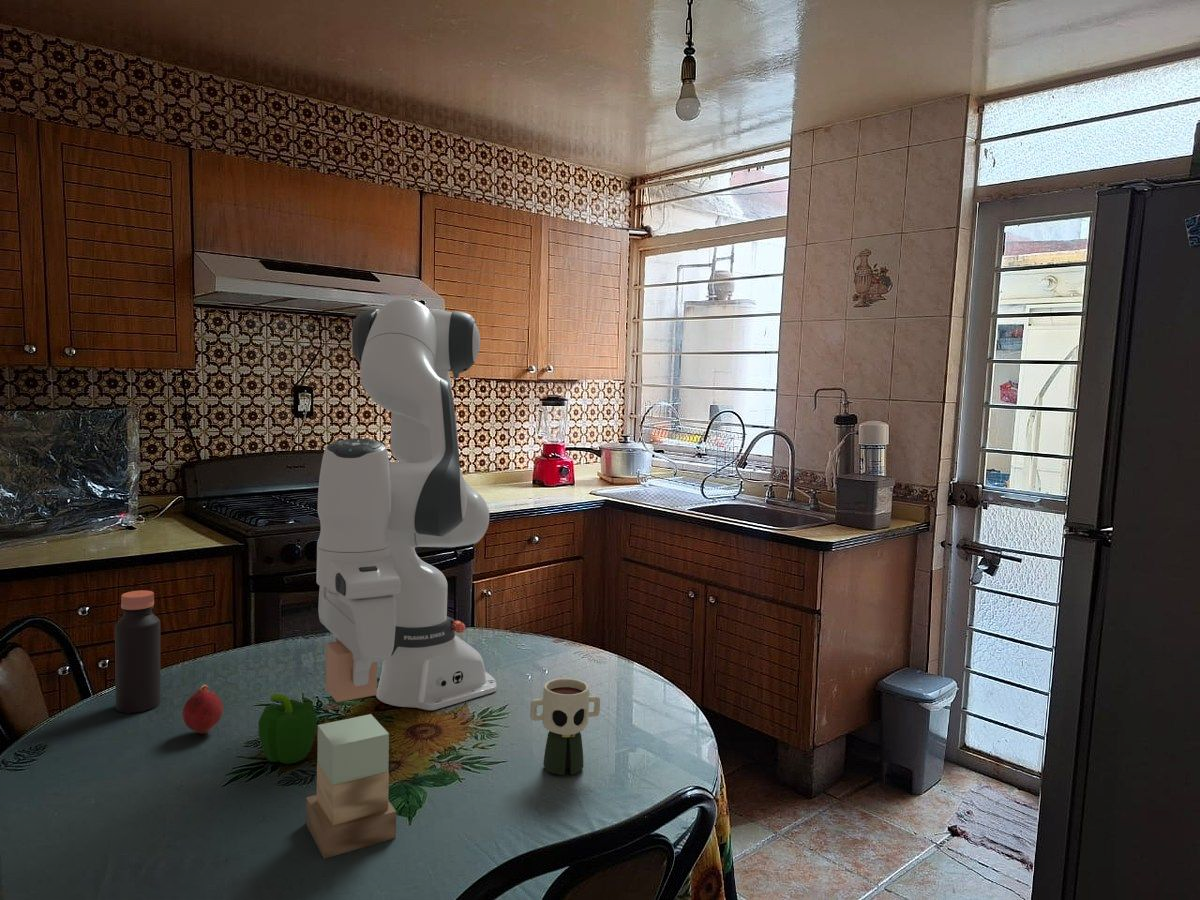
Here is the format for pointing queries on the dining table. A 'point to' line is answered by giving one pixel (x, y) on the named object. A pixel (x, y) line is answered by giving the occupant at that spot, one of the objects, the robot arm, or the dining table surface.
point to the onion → (202, 710)
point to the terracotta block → (346, 674)
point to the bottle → (137, 654)
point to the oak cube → (352, 797)
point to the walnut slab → (348, 829)
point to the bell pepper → (287, 730)
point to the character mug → (564, 722)
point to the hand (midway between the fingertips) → (351, 675)
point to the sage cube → (352, 749)
